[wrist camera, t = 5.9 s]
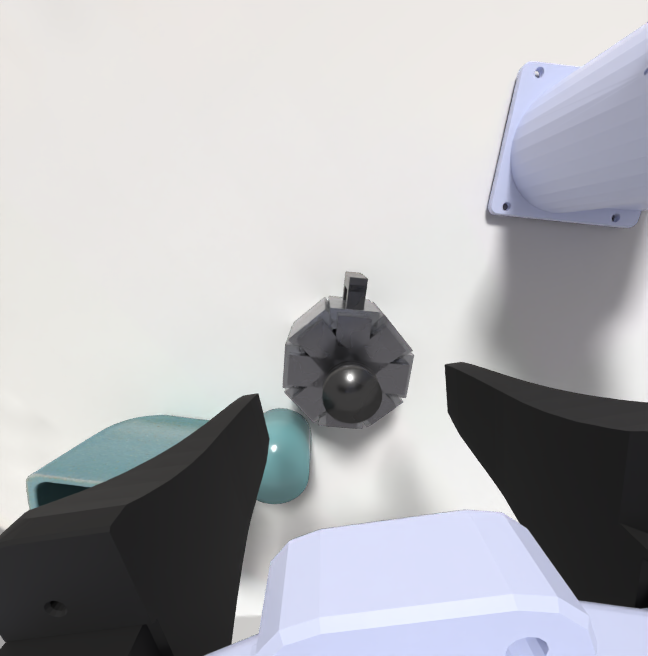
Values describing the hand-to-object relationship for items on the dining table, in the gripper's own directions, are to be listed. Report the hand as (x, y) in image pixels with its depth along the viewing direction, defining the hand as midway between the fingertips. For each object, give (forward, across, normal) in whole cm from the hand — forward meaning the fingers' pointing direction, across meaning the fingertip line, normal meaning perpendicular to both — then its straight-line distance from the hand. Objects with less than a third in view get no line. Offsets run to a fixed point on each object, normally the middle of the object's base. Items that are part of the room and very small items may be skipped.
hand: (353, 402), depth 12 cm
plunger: (+9, 0, +2) cm, 10 cm away
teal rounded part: (+10, +6, +8) cm, 14 cm away
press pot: (+10, 0, +2) cm, 10 cm away
